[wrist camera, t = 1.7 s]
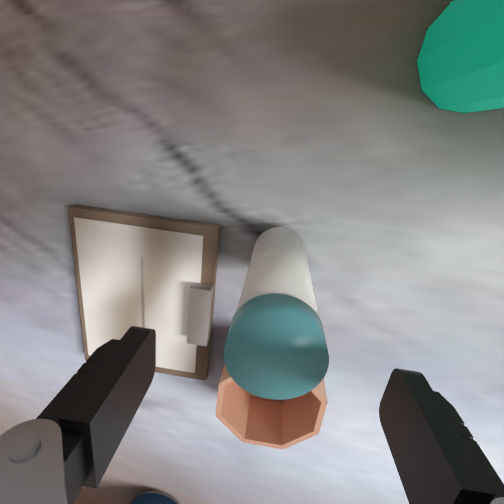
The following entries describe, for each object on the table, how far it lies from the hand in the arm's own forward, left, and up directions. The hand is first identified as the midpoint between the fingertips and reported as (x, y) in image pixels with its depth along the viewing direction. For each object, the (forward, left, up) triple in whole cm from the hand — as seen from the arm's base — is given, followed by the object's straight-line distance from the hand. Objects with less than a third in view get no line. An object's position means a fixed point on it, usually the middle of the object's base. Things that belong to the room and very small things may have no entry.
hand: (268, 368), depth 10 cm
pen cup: (-1, +11, -13) cm, 17 cm away
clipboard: (+10, +6, -13) cm, 17 cm away
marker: (0, 0, -13) cm, 13 cm away
